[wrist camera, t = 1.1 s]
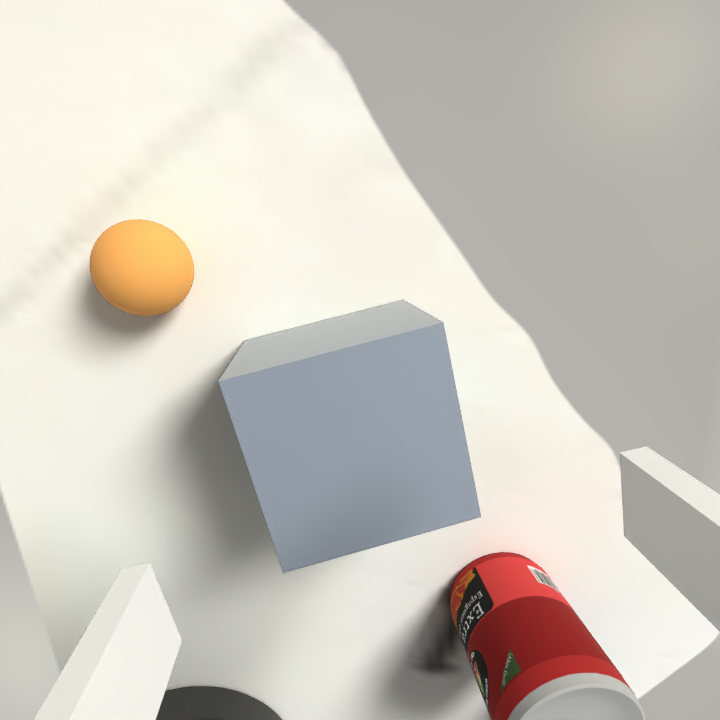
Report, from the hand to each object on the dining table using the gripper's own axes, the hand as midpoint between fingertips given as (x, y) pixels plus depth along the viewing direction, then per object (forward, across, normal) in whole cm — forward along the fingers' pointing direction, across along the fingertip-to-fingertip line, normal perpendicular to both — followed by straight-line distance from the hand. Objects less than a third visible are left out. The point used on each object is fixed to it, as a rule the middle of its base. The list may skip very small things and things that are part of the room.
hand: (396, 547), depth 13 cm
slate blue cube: (+18, +1, +2) cm, 18 cm away
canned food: (+18, -7, +20) cm, 28 cm away
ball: (+15, +10, -9) cm, 20 cm away
